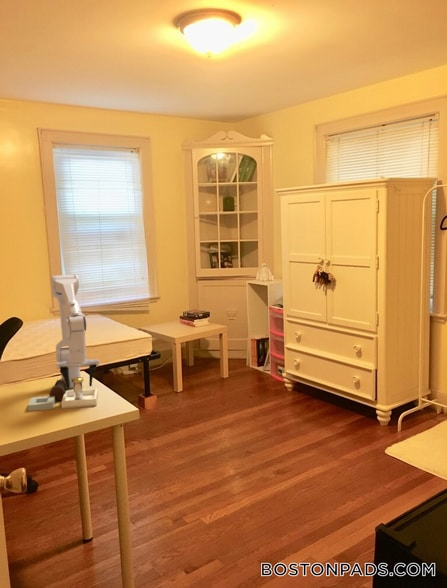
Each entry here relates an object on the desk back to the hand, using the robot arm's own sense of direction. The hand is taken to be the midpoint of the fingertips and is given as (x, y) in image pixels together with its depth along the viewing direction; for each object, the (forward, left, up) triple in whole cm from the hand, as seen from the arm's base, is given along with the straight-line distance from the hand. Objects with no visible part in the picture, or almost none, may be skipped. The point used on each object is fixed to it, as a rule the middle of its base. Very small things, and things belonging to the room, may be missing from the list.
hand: (79, 386), depth 175 cm
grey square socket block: (+1, -13, -6) cm, 14 cm away
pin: (0, -1, -5) cm, 5 cm away
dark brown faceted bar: (-10, -8, -6) cm, 14 cm away
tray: (0, 0, -6) cm, 6 cm away
